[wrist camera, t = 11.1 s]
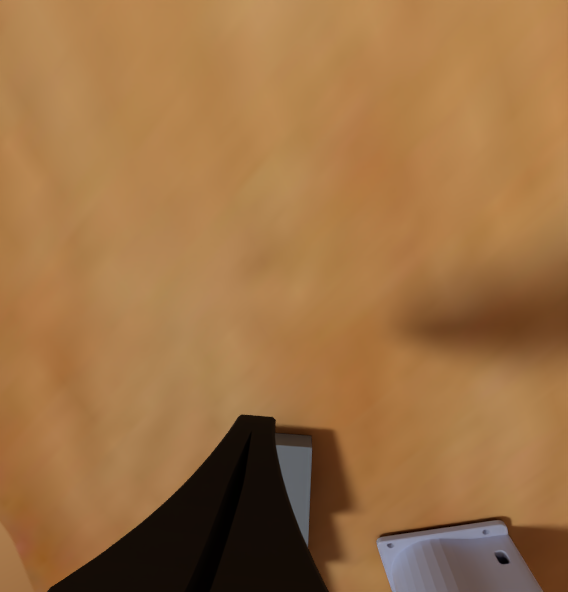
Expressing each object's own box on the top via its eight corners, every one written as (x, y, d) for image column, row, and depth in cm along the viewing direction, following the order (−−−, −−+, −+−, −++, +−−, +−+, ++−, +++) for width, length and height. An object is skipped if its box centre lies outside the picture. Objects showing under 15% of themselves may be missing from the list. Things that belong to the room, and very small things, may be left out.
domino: (237, 442, 20) (232, 559, 20) (312, 447, 19) (307, 566, 20) (242, 430, 21) (238, 539, 22) (311, 435, 21) (306, 545, 21)
